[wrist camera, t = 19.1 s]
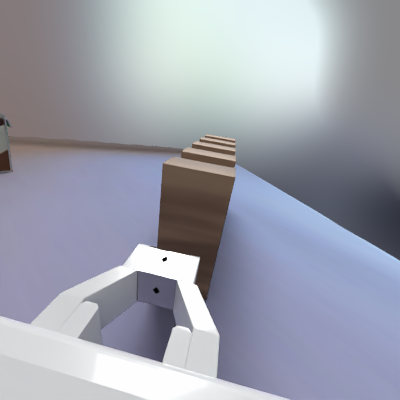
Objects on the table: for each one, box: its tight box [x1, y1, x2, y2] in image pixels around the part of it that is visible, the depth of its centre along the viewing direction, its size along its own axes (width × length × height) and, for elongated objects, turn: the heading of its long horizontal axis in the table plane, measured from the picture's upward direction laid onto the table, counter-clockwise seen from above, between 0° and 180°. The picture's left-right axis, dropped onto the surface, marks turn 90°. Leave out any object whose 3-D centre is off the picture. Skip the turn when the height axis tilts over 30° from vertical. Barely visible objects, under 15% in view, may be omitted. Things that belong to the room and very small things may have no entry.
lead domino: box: [157, 157, 235, 300], centre depth 17 cm, size 2×5×12 cm, turn 80°
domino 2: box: [181, 147, 236, 168], centre depth 21 cm, size 2×5×12 cm, turn 80°
